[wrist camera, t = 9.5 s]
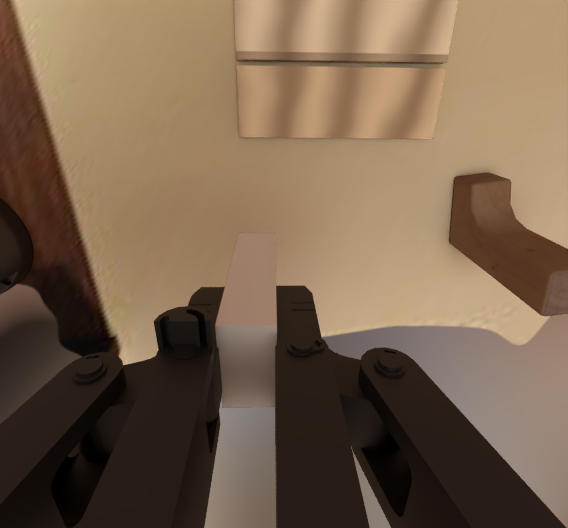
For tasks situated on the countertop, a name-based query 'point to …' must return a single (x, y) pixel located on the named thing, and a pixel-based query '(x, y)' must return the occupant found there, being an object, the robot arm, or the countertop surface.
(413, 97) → the board
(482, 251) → the wooden block
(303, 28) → the laid board
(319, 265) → the countertop surface
